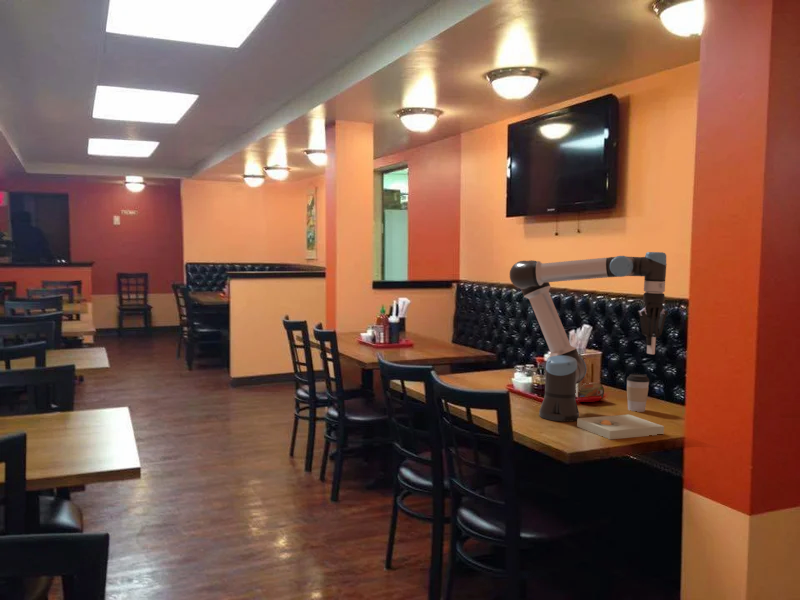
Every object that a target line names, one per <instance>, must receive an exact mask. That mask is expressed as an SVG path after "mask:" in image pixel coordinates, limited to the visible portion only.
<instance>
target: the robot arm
mask: <svg viewBox="0 0 800 600" xmlns="http://www.w3.org/2000/svg"><path fill="white" fill-rule="evenodd" d="M667 265H668V264H667V254H666V253H665V252H663V251H662V252H661V251H646V253H645V256H627V255H617V256H610V257H599V258H588V259H587V258H586V259H578V260H565V261H555V262H553V261H552V262H545V263H543V262H541V261H539V260H531V259H530V260H519V261H517V262H515V263H514V264H513V265H512V267H511V268H510V270H509V280H510V282H511V283H512V285H513V286H514V287H515V288H518V289H520V290H521V293H522V295H523V297H524V298H526V299H528V300H529V303H530V305H531V307H532V310H533V311H534V315H535V317H536V320H537V322H538V325H539V326H540V330H541V333H542V335H543V337H544V339H545V342H546V345H547V347H548V350H549V352H550V354H549V357H548V358H547V359H546V362H545V377H544V378H545V379H544V381H545V383H544V397H543V399H542V400H543V401H542V402H541V406H540V408H539V413H538V415H539V416H540V417H541V418H542V419H545V420H548V421H554V422H575V421H576V422H577V418H580V412H579V408H578V407H579V406H578V404H577V399H576V395H575V393H576V388H577V384H580V382H582V381H583V380H584V379H585V376H586V374H587V364H586V362H585V360H584V359H583V358H582V356H580V355H579V352H578V350H577V348H576V347H574V346H573V345H571V342H570V340H569V337H568V335H567V333H566V331H565V328H564V326H563V324H562V320H561V318H560V316H559V314H558V311H557V308H556V306H555V304H554V301H553V299H552V296H551V294H550V292H549V291H550V289H551V284H550V283H555V282H557V283H559V282H567V281H568V282H569V281H581V280H592V279H593V280H594V279H605V278H617V277H618V278H623V277H643V278H644V279H643V280H644V283H643V291H644V293H643V297H642V300H643V303H644V305H643V307H642V309H641V310H638V311H637V314H638V316H639V322H640V329H641V335H643V336H644V337H645V338H646V339H645V340H646V341H645V345H646V354H648V355H655V354H656V346H657V340H658V338H660V336H662V334H663V329H664V327H665V321H666V317H667V316H668V315H669V311H668V310H665V309H664V305H663V304H664V303H665V297H666V296H665V293H664V292H665V291H666V277H667Z"/></svg>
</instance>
